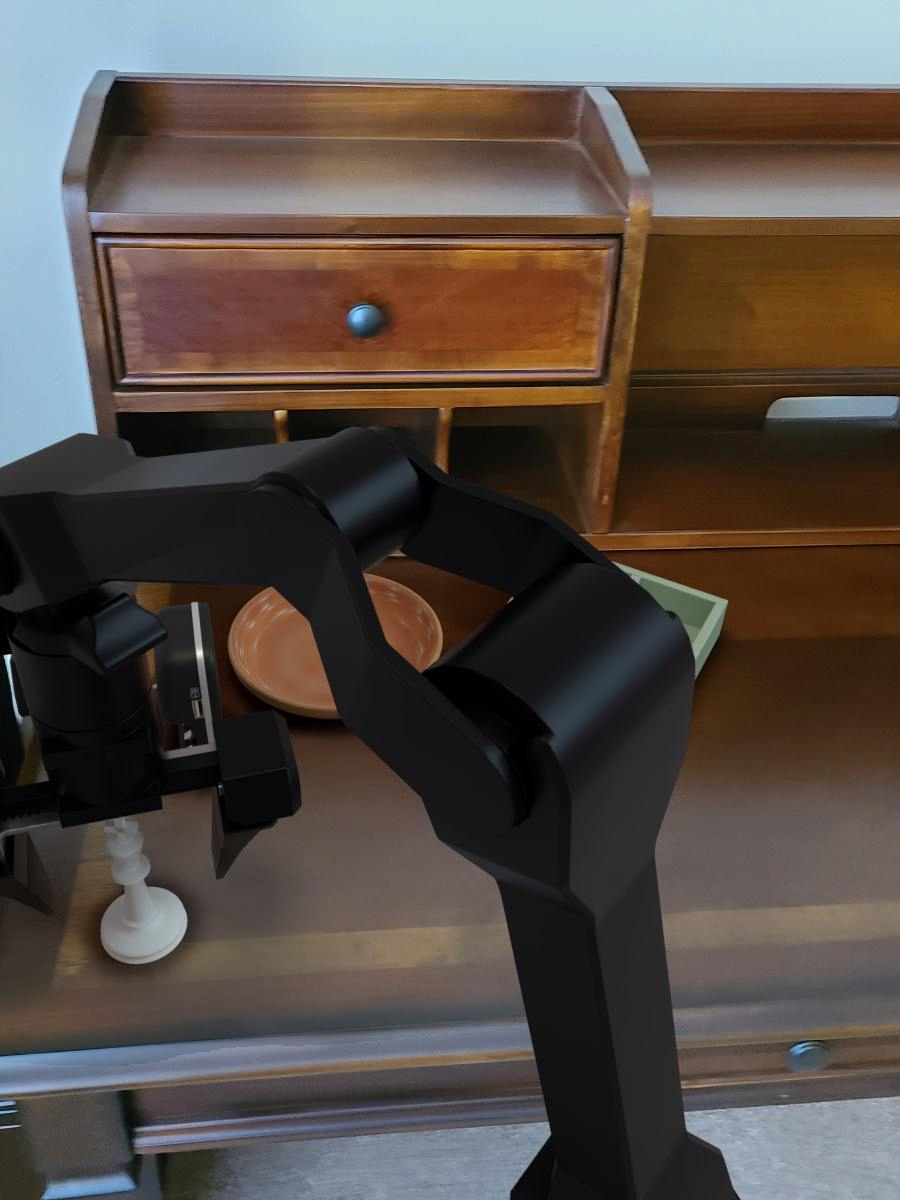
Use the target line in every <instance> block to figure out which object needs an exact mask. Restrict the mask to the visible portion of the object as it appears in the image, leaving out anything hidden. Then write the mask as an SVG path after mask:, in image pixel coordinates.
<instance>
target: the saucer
mask: <svg viewBox="0 0 900 1200" xmlns="http://www.w3.org/2000/svg"><path fill="white" fill-rule="evenodd" d="M363 576H364V579H365V581H366V584H367V587H368V590H369V593H370V595H371V598H372V601H373V604H374V607H375V610H376V612H377V615H378V618H379V621H380V624H381V627H382V629H383V632H384V635H385V638H386V640H387V642H388V643H389V644H390V645H391V646H392V647H393V648H394V649H395V650H396V651H397V652H398V653H399V654H401V655H402V656H403V657H404V658H405V659H406V660H407V661H408V662H409V663H410V664H411V665H412V666H414V667H415V668H416V669H417V670H418V671H419V672H420V673H422V672H423V671H424V670H425V669H426V668H427V667H429V666H430V665H431V664H432V663H434V662H435V661H436V660H437V659H439V658H440V657H441V654H442V649H443V644H444V643H443V641H444V635H443V630H442V626H441V622H440V620H439V618H438V616H437V614H436V613H435V611H434V609H433V608H432V607H431V606H430V605H429V604H428V603H427V602H426V600H425V599H424V598H422V597H421V596H420V595H419V594H417V593H416V592H414V591H413V590H412V589H410V588H408V587H407V586H404V585H403V584H400V583H398V582H396V581H393V580H391V579H389V578H385V577H383V576H379V575H374V574H370V573H366V572H365V573H363ZM227 652H228V657H229V660H230V663H231V666H232V669H233V671H234V673H235V675H236V678H238V680H239V682H241V684H242V685H243V686H244V687H245V688H246V690H248V691H249V692H250V693H251V694H252V695H253V696H255V697H256V698H258V699H259V700H261V701H262V702H264V703H265V704H268V705H270V706H272V707H274V708H276V709H279V710H281V711H284V712H286V713H289V714H292V715H296V716H300V717H305V718H306V717H307V718H312V719H320V720H342V719H341V718H340V716H339V714H338V712H337V709H336V706H335V703H334V699H333V696H332V693H331V690H330V687H329V683H328V680H327V677H326V674H325V671H324V667H323V664H322V661H321V658H320V654H319V651H318V648H317V645H316V642H315V638H314V635H313V632H312V629H311V626H310V623H309V621H308V620H307V619H306V618H305V617H304V616H303V615H302V614H301V613H300V612H299V611H298V610H296V609H295V608H294V607H293V606H292V605H291V604H290V603H289V602H288V601H287V600H286V599H285V598H284V597H283V596H282V595H280V594H279V593H278V592H277V591H276V590H275V589H274V588H273V587H266V589H264V590H262V591H260V592H259V593H257V594H256V595H255V596H254V597H252V598H251V599H250V600H248V602H247V603H246V604H245V605H244V606H243V607H242V608H241V609H240V610H239V611H238V613H237V614H236V616H235V618H234V620H233V621H232V624H231V626H230V630H229V633H228V638H227Z"/></svg>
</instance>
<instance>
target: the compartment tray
mask: <svg viewBox="0 0 900 1200" xmlns="http://www.w3.org/2000/svg"><path fill="white" fill-rule="evenodd" d="M611 561H612V562H613V563H614V564H616V565H617V566H618V567H619V568H620V569H621V570H623V571H624V572H625V573H626V574H627V575H629V576H630V577H631V578H632V579H633V580H635V581H636V582H637V583H638V584H639V585H641V586H642V587H643V588H644V589H645V590H647V591H648V592H649V593H650V594H651V595H652V596H653V597H654V598H655V600H656V601H657V602H658V603H659V604H660V605H661V606H662V607H663V609H664V610H670V611H673V612H674V613H676V614H677V615H678V616H679V617H680V619H681V621H682V623H683V625H684V627H685V629H686V631H687V633H688V635H689V638H690V641H691V645H692V649H693V653H694V657H695V680H697V677H698V675H699V674H700V672H701V670H702V668H703V666H704V664H705V663H706V661H707V659H708V657H709V655H710V654H711V651H712V649H713V648H714V647H715V644H716V642H717V640H718V639H719V637H720V634H721V630H722V626H723V623H724V620H725V615H726V612H727V608H728V604H729V600H728V599H725V598H723V597H719V596H717V595H714V594H710V593H708V592H704V591H701V590H698V589H696V588H692V587H690V586H687V585H683V584H681V583H678V582H675V581H671V580H668V579H667V578H662V577H660V576H657V575H654V574H651V573H648V572H645V571H642V570H639V569H636V568H633V567H630V566H627V565H625V564H622V563H619V562H615V561H613V560H611ZM512 599H513V597H512V596H511V598H510V599H509V600H508V602H509V601H511V600H512Z"/></svg>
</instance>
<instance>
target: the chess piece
mask: <svg viewBox="0 0 900 1200" xmlns="http://www.w3.org/2000/svg"><path fill="white" fill-rule="evenodd" d="M104 821H105V822H104V825H103V831H104V833H108V835H107V837H106V839H105V843H104V847H105V850H106V852H107V854H108V855H109V856H110V858H112V859H113V860H114V861H113V863H112V865H111V869H110V876H111V878H112V880H113V881H114V882H115V883H117V884H119V885H122V886H123V887H124V893H123V894H121V895H119V896H118V897H117V898H116V899H115V900H114V901H112V903H110V905H109V906H108V908H106V910H105V912H104V913H103V916H102V919H101V923H100V940H101V944H102V946H103V948H104V950H105V951H106V953H107V954H108V955H109V956H110V957H111V958H113V959H115V960H116V961H118V962H121V963H124V964H129V965H142V964H143V965H144V964H148V963H152V962H155V961H157V960H160V959H162V958H163V957H166V956H168V954H170V953H171V952H173V950H175V949H176V947H178V945H179V944H180V943H181V941H182V940H183V938H184V936H185V934H186V931H187V927H188V916H187V915H188V914H187V912H186V909H185V906H184V905H183V902H182V901H181V900H180V898H179V897H178V896H177V895H176V894H174V893H173V892H172V891H171V890H168V889H167V888H166V889H165V888H164V887H158V886H147V883H146V882H145V879H146V878H147V876H149V873H150V871H151V861H150V859H149V858H148V857H147V856H146V855H145V854H144V853H143V852H142V850H143V846H144V842H145V841H144V834H143V833H142V831H141V830H140V829H139V823H138V821H132V820H131V821H126V816H125V817H120V818H115V819H113V820H104Z"/></svg>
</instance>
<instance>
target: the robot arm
mask: <svg viewBox="0 0 900 1200" xmlns="http://www.w3.org/2000/svg"><path fill="white" fill-rule="evenodd" d="M398 551H399V552H400V553H402V555H404V556H406V557H407V558H409V559H411V560H413V561H415V562H418V563H421V564H424V565H427V566H429V567H433V568H435V569H437V570H440V571H444V572H446V573H450V574H453V575H455V576H458V577H460V578H464V579H465V580H466V579H467V580H469V581H473V582H475V583H477V584H481V585H484V586H487V587H490V588H491V589H495V590H497V591H500V592H503V593H506V594H507V595H509V596H510V597H511V598H512V597H513V599H512V600H511V601H509V600H508V601H507V603H505V604H504V605H503V606H502V607H500V608H499V609H498V610H497V611H496V612H495V613H493V614H492V615H491V616H490V617H488V618H487V619H486V620H485V621H483V622H482V623H481V624H480V625H478V626H477V627H476V628H475V629H473V630H472V631H470V633H469V634H467V635H465V636H464V637H463V638H462V639H461V640H460V641H458V642H457V643H456V644H454V646H452V647H451V648H449V650H447V651H446V652H445V653H443V654H442V655H440V657H439V659H437V660H436V661H435V662H434V663H432V664H431V665H430V666H429V667H427V668H426V669H425V670H424V671H423V672H422V673H420V672H419V671H418V670H417V669H416V668H415V667H414V666H412V665H411V664H410V663H409V662H408V661H407V660H406V659H405V658H404V657H403V656H402V655H401V654H399V653H398V652H397V651H396V650H395V649H394V648H393V647H392V646H391V645H390V644H389V643H388V642H387V640H386V638H385V635H384V632H383V629H382V627H381V624H380V621H379V618H378V615H377V612H376V610H375V607H374V604H373V601H372V598H371V595H370V593H369V590H368V587H367V584H366V581H365V579H364V576H363V573H365V574H366V572H369V571H370V570H371V569H373V568H374V567H376V566H377V565H379V564H380V563H381V562H383V561H384V560H386V559H387V558H389V557H390V556H392V555H393V554H394V553H396V552H398ZM612 561H613V560H611V559H610V558H609V557H607V556H606V555H605V554H604V553H602V551H600V550H599V549H598V548H597V547H595V545H593V544H592V543H591V542H589V541H588V540H587V539H585V537H584V536H582V535H581V534H580V533H579V532H578V531H576V530H575V529H574V528H573V527H571V526H570V525H569V524H568V523H567V522H566V521H564V520H563V519H562V518H561V517H560V516H558V515H557V514H555V513H553V512H551V511H549V510H548V509H546V508H544V507H541V506H537V505H534V504H531V503H530V502H526V501H524V500H521V499H518V498H516V497H512V496H510V495H507V494H504V493H502V492H498V491H496V490H492V489H490V488H487V487H484V486H481V485H479V484H476V483H473V482H471V481H467V480H465V479H463V478H461V477H460V478H459V477H457V476H454V475H451V474H449V473H447V472H446V471H444V470H443V469H442V468H441V467H440V466H439V465H437V464H436V463H435V462H434V461H433V460H432V459H430V458H429V457H428V456H427V455H426V454H424V453H423V452H422V451H420V449H419V448H417V447H416V446H415V445H414V444H413V443H411V442H410V441H409V440H408V439H407V438H405V437H404V436H402V435H401V434H399V433H397V432H396V431H394V430H392V429H391V428H389V427H384V426H383V427H382V426H377V425H376V426H375V425H370V426H368V427H362V426H361V427H360V426H351V427H348V428H345V429H343V430H340V431H339V432H337V433H336V434H333V435H332V436H329V437H322V438H313V439H301V440H293V441H286V442H278V443H269V444H260V445H250V446H242V447H241V446H240V447H233V448H225V449H216V450H207V451H198V452H197V451H196V452H190V453H188V452H187V453H179V454H173V455H163V456H162V455H161V456H154V457H153V456H152V457H145V456H140V455H136V452H135V450H134V447H133V446H132V443H131V442H130V441H128V440H126V439H124V438H121V437H120V438H119V437H114V436H107V435H100V434H96V433H95V434H94V433H87V432H77V433H75V434H73V435H71V436H69V437H66V438H64V439H62V440H60V441H56V442H55V443H52V444H51V445H48V446H45V447H43V448H41V449H39V450H37V451H34V452H33V453H30V454H28V455H26V456H23V457H21V458H19V459H16V460H14V461H12V462H9V463H8V464H5V465H2V466H1V467H0V656H1V657H2V656H9V655H10V658H9V667H10V674H11V682H12V689H13V695H14V701H15V705H16V710H17V713H18V716H20V717H21V718H27V717H30V720H31V724H32V727H33V730H34V734H35V737H36V741H37V745H38V747H39V751H40V757H41V760H42V764H43V768H44V771H45V772H46V776H47V779H48V780H44V781H43V780H42V781H38V782H33V783H28V784H22V785H15V786H10V787H5V788H0V896H1V897H4V898H7V899H10V900H13V901H15V902H18V903H19V904H22V905H24V906H26V907H29V908H31V909H32V910H35V911H37V912H40V913H41V914H44V915H46V916H52V915H55V914H56V897H55V894H54V889H53V886H52V881H51V879H50V876H49V874H48V872H47V870H46V868H45V866H44V863H43V861H42V859H41V857H40V855H39V853H38V850H37V847H36V846H35V844H34V841H33V839H32V837H31V835H30V832H34V831H41V830H45V829H51V828H56V827H61V829H67V828H72V827H78V826H83V825H88V824H93V823H98V822H104V821H111V820H114V819H115V818H120V817H125V818H126V817H131V816H135V815H140V814H145V813H146V814H147V813H151V812H156V811H161V810H164V806H163V797H167V796H172V795H176V794H182V793H183V794H184V793H188V792H193V791H197V790H204V789H209V788H211V792H212V793H211V794H212V795H211V835H210V837H211V838H210V839H211V841H210V849H211V855H212V862H213V863H212V864H213V868H214V876H215V879H216V881H218V880H224V879H225V876H226V875H227V874H228V872H229V871H230V869H231V868H232V865H233V864H234V863H235V861H236V859H237V858H238V857H239V855H240V854H241V852H242V851H243V850H244V849H245V848H246V847H247V846H248V844H249V843H251V841H252V840H253V839H254V838H255V837H256V836H257V835H258V834H259V833H260V832H261V831H264V830H269V829H271V828H273V827H275V826H276V825H277V824H278V821H279V819H284V818H289V817H293V816H295V815H296V813H297V812H298V811H299V810H300V808H302V807H303V801H302V787H301V779H300V773H299V769H298V764H297V760H296V756H295V752H294V748H293V743H292V740H291V736H290V731H289V728H288V723H287V720H286V718H285V717H284V716H283V715H281V713H279V712H278V711H277V710H275V709H269V710H265V711H259V712H254V713H248V714H242V715H236V716H231V717H225V718H224V717H223V718H224V719H218V720H212V728H213V735H214V742H213V743H210V744H205V745H200V746H194V747H188V748H183V749H180V748H177V749H172V750H167V751H165V747H164V741H163V740H165V739H166V738H165V729H164V721H163V716H162V715H161V710H160V704H159V699H158V693H157V689H154V688H153V681H152V675H151V670H150V664H149V658H148V652H149V651H151V650H152V649H154V647H155V646H157V645H159V644H160V643H162V642H163V641H165V640H166V639H167V638H168V637H169V632H168V630H167V628H166V627H165V625H164V624H163V623H162V622H161V620H160V619H159V618H158V617H157V616H156V614H155V613H154V612H153V611H151V610H149V609H148V608H146V607H145V606H143V605H141V604H140V603H138V598H137V596H136V594H135V593H134V592H133V591H132V590H131V589H129V588H128V587H126V586H125V585H123V584H121V583H120V582H126V583H127V582H129V583H151V584H153V583H155V584H176V585H177V584H181V585H206V586H231V587H259V588H269V587H273V588H274V589H275V590H276V591H277V592H278V593H279V594H280V595H282V596H283V597H284V598H285V599H286V600H287V601H288V602H289V603H290V604H291V605H292V606H293V607H294V608H295V609H296V610H298V611H299V612H300V613H301V614H302V615H303V616H304V617H305V618H306V619H307V620H308V621H309V623H310V626H311V629H312V632H313V635H314V638H315V642H316V645H317V648H318V651H319V654H320V658H321V661H322V664H323V667H324V671H325V674H326V677H327V680H328V683H329V687H330V690H331V693H332V696H333V699H334V703H335V706H336V709H337V712H338V714H339V716H340V718H341V719H340V720H341V721H342V722H343V724H344V726H345V727H346V728H348V729H349V730H350V731H351V732H352V734H354V735H355V736H356V737H357V738H358V739H359V740H360V741H361V742H362V743H363V744H364V745H365V746H366V747H368V749H369V750H371V751H372V752H373V753H374V754H375V755H376V756H377V757H378V758H379V759H380V760H381V761H382V762H383V763H384V764H385V765H386V766H387V767H388V768H390V769H391V771H393V773H395V774H396V775H397V776H398V777H399V778H400V779H401V780H402V781H403V782H404V783H405V784H406V785H407V786H408V787H409V788H410V789H411V790H412V791H413V792H414V793H416V794H417V795H418V797H420V798H421V801H422V803H423V805H424V808H425V811H426V813H427V816H428V818H429V821H430V824H431V826H432V829H433V832H434V834H435V836H436V838H437V839H438V840H439V841H440V842H441V843H442V844H444V845H445V846H447V847H449V848H450V850H452V851H454V852H455V853H457V854H458V855H460V856H461V857H462V858H465V859H466V860H467V861H469V862H471V864H473V865H474V866H476V867H478V868H479V869H481V870H482V871H483V872H485V873H486V874H487V875H489V876H491V877H492V878H493V879H494V880H495V882H496V885H497V887H498V890H499V893H500V899H501V902H502V907H503V911H504V916H505V923H506V926H507V931H508V936H509V940H510V945H511V951H512V954H513V960H514V963H515V964H514V965H515V969H516V974H517V978H518V984H519V989H520V993H521V998H522V1002H523V1008H524V1010H525V1017H526V1021H527V1026H528V1031H529V1036H530V1041H531V1045H532V1051H533V1055H534V1060H535V1064H536V1070H537V1073H538V1078H539V1083H540V1088H541V1092H542V1097H543V1103H544V1108H545V1113H546V1117H547V1121H548V1126H549V1127H548V1128H549V1131H550V1135H549V1136H548V1137H547V1139H546V1141H545V1142H544V1143H543V1145H542V1146H541V1148H540V1149H539V1150H538V1152H536V1154H535V1156H534V1157H533V1159H532V1160H531V1162H530V1163H529V1164H528V1166H527V1167H526V1168H525V1170H524V1171H523V1173H522V1174H521V1175H520V1177H519V1178H518V1179H517V1181H516V1183H515V1184H514V1185H513V1186H512V1188H511V1190H510V1191H509V1200H742V1199H741V1198H740V1196H739V1194H738V1193H737V1191H736V1190H735V1188H734V1187H733V1183H732V1179H731V1175H730V1173H729V1170H728V1166H727V1162H726V1160H725V1158H724V1154H723V1152H722V1150H721V1149H720V1148H719V1147H717V1146H716V1145H713V1144H712V1143H710V1142H708V1141H706V1140H704V1139H702V1138H701V1137H699V1136H697V1135H695V1134H693V1133H692V1132H689V1131H688V1130H687V1125H686V1115H685V1107H684V1099H683V1089H682V1081H681V1073H680V1064H679V1055H678V1047H677V1046H678V1045H677V1038H676V1029H675V1021H674V1012H673V1004H672V1003H673V1002H672V994H671V985H670V984H671V983H670V976H669V969H668V960H667V949H666V943H665V941H666V940H665V932H664V924H663V923H664V922H663V915H662V906H661V898H660V890H659V881H658V872H657V863H656V846H657V845H656V844H657V840H658V836H659V833H660V830H661V827H662V825H663V822H664V819H665V816H666V814H667V810H668V807H669V804H670V802H671V798H672V795H673V792H674V790H675V787H676V784H677V780H678V778H679V774H680V772H681V769H682V767H683V763H684V760H685V757H686V753H687V750H688V745H689V735H690V726H691V716H692V710H693V702H694V692H695V684H696V683H695V682H696V679H695V657H694V653H693V649H692V645H691V641H690V638H689V635H688V633H687V631H686V629H685V627H684V625H683V623H682V621H681V619H680V617H679V616H678V615H677V614H676V613H674V612H673V611H670V610H664V609H663V607H662V606H661V605H660V604H659V603H658V602H657V601H656V600H655V598H654V597H653V596H652V595H651V594H650V593H649V592H648V591H647V590H645V589H644V588H643V587H642V586H641V585H639V584H638V583H637V582H636V581H635V580H633V579H632V578H631V577H630V576H629V575H627V574H626V573H625V572H624V571H623V570H621V569H620V568H619V567H618V566H617V565H616V564H614V563H613V562H614V561H613V562H612ZM5 773H6V771H5V767H4V765H3V761H2V759H1V757H0V784H1V783H2V782H3V781H5V778H6V777H5Z"/></svg>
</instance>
